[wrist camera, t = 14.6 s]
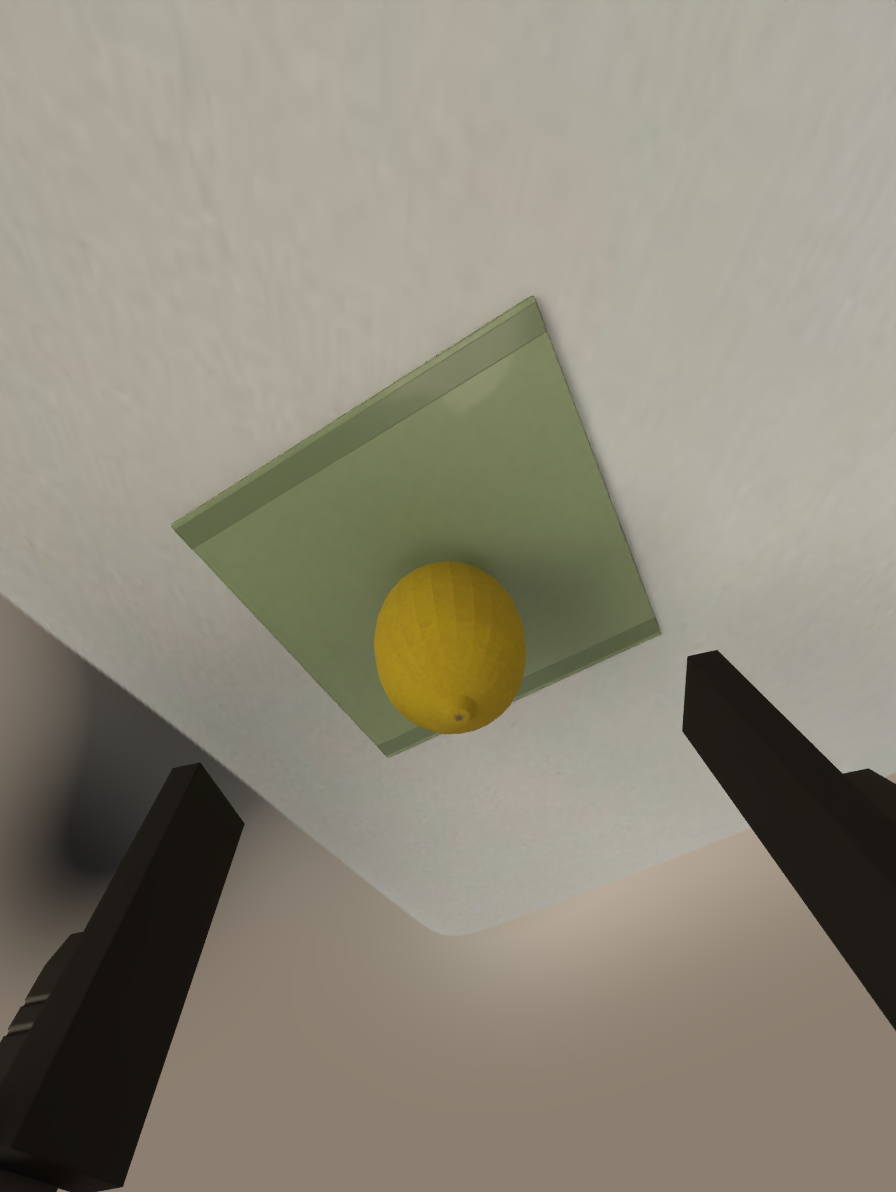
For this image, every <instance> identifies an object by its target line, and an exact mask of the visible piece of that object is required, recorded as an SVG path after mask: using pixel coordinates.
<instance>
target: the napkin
mask: <svg viewBox="0 0 896 1192" xmlns="http://www.w3.org/2000/svg"><path fill="white" fill-rule="evenodd" d="M171 527H172V528H173V529H174V531H175V532H176V533H177V534H178V535H179V536H180V537H181V538H182V539H183V540H184V541H185V542H186V543H187V544H188V546H189V547H190V548H191V549H193V550H194V552H195V553H196V554H197V555H198V556H199V557H200V558H201V559H202V560H203V561H204V562H205V563H206V564H207V565H208V566H209V568H210V569H211V570H212V571H213V572H214V573H215V574H216V575H217V576H218V577H219V578H220V579H221V580H222V581H223V582H224V584H225V585H226V586H227V587H228V588H229V589H230V590H231V591H232V592H233V593H234V594H235V595H236V596H237V597H238V598H239V600H240V601H241V602H242V603H243V604H244V605H245V606H246V607H247V608H248V609H249V610H250V611H251V612H252V613H253V614H254V616H255V617H256V618H257V619H258V620H259V621H260V622H261V623H262V624H263V625H264V626H265V627H266V628H267V629H268V630H269V632H270V633H271V634H272V635H273V636H274V637H275V638H276V639H277V640H278V641H279V642H280V643H281V644H282V645H283V646H284V647H285V649H286V650H287V651H288V652H289V653H290V654H291V655H292V656H293V657H294V658H295V659H296V660H297V661H298V662H299V663H300V665H301V666H302V667H303V668H304V669H305V670H306V671H307V672H308V673H309V674H310V675H311V676H312V677H313V678H314V679H315V681H316V682H317V683H318V684H319V685H320V686H321V687H322V688H323V689H324V690H325V691H326V692H327V693H328V694H329V695H330V697H331V698H332V699H333V700H334V701H335V702H336V703H337V704H338V705H339V706H340V707H341V708H342V709H343V710H344V711H345V713H346V714H347V715H348V716H349V717H350V718H351V719H352V720H353V721H354V722H355V723H356V724H357V725H358V726H359V727H360V729H361V730H362V731H363V732H364V733H365V734H366V735H367V736H368V737H369V738H370V739H371V740H372V741H373V742H374V743H375V745H376V746H377V747H378V748H379V749H380V750H381V751H382V752H383V753H384V754H385V755H386V756H387V757H388V758H389V757H391V756H393V755H395V754H398V753H400V752H402V751H404V750H407V749H409V748H411V747H413V746H415V745H418V744H420V743H422V742H424V741H426V740H429V739H431V738H433V737H435V736H437V735H440V734H442V733H437V732H432V731H430V730H427V729H424V728H421V727H419V726H417V725H416V724H414V723H412V722H411V721H409V720H408V719H406V718H405V717H404V716H403V715H402V714H401V713H400V712H399V711H398V710H397V709H396V708H395V707H394V705H393V704H392V703H391V701H390V700H389V698H388V696H387V694H386V692H385V690H384V688H383V686H382V684H381V681H380V679H379V675H378V671H377V666H376V659H375V652H374V636H375V630H376V624H377V618H378V615H379V612H380V610H381V608H382V606H383V604H384V602H385V600H386V597H387V595H388V594H389V592H390V591H391V590H392V589H393V588H394V587H395V585H396V584H397V583H398V582H399V581H400V580H401V579H402V578H403V577H405V576H406V575H408V574H409V573H411V572H412V571H414V570H415V569H417V568H419V567H422V566H425V565H427V564H430V563H435V562H443V561H452V562H461V563H465V564H468V565H471V566H474V567H477V568H479V569H481V570H483V571H484V572H486V573H487V574H489V575H490V576H492V577H493V578H494V579H496V580H497V581H498V582H499V584H500V585H501V586H502V587H503V588H504V589H505V591H506V592H507V593H508V594H509V595H510V597H511V598H512V600H513V602H514V604H515V606H516V609H517V611H518V613H519V616H520V618H521V620H522V624H523V628H524V635H525V645H526V663H525V669H524V674H523V679H522V683H521V686H520V688H519V690H518V692H517V694H516V696H515V698H514V700H513V701H515V700H517V699H519V698H521V697H524V696H526V695H528V694H530V693H532V692H535V691H537V690H539V689H541V688H544V687H546V686H548V685H550V684H552V683H555V682H557V681H559V680H561V679H563V678H566V677H568V676H570V675H572V674H574V673H577V672H579V671H581V670H583V669H586V668H588V667H590V666H592V665H594V664H597V663H599V662H601V661H603V660H605V659H608V658H610V657H612V656H614V655H616V654H619V653H621V652H623V651H625V650H628V649H630V648H632V647H634V646H636V645H639V644H641V643H643V642H645V641H647V640H650V639H652V638H654V637H656V636H658V635H661V632H660V629H659V627H658V624H657V621H656V619H655V616H654V614H653V611H652V608H651V606H650V603H649V600H648V598H647V595H646V592H645V590H644V587H643V584H642V582H641V579H640V576H639V574H638V571H637V569H636V566H635V563H634V561H633V558H632V555H631V553H630V550H629V547H628V545H627V542H626V539H625V537H624V534H623V531H622V529H621V526H620V523H619V521H618V518H617V516H616V513H615V510H614V508H613V505H612V502H611V500H610V497H609V494H608V492H607V489H606V486H605V484H604V481H603V478H602V476H601V473H600V470H599V468H598V465H597V462H596V460H595V457H594V455H593V452H592V449H591V447H590V444H589V441H588V439H587V436H586V433H585V431H584V428H583V425H582V423H581V420H580V417H579V415H578V412H577V409H576V407H575V404H574V402H573V399H572V396H571V394H570V391H569V388H568V386H567V383H566V380H565V378H564V375H563V372H562V370H561V367H560V364H559V362H558V359H557V356H556V354H555V351H554V348H553V346H552V343H551V341H550V338H549V335H548V333H547V330H546V327H545V324H544V322H543V319H542V316H541V314H540V311H539V308H538V306H537V303H536V301H535V298H534V296H530V297H529V298H527V299H526V300H524V301H523V302H521V303H519V304H518V305H516V306H515V307H513V308H512V309H510V310H508V311H507V312H505V313H504V314H502V315H501V316H499V317H497V318H496V319H494V320H493V321H491V322H489V323H488V324H486V325H485V326H483V327H482V328H480V329H478V330H477V331H475V332H474V333H472V334H471V335H469V336H467V337H466V338H464V339H463V340H461V341H460V342H458V343H456V344H455V345H453V346H452V347H450V348H449V349H447V350H445V351H444V352H442V353H441V354H439V355H437V356H436V357H434V358H433V359H431V360H430V361H428V362H426V363H425V364H423V365H422V366H420V367H419V368H417V369H415V370H414V371H412V372H411V373H409V374H408V375H406V376H404V377H403V378H401V379H400V380H398V381H396V382H395V383H393V384H392V385H390V386H389V387H387V388H385V389H384V390H382V391H381V392H379V393H378V394H376V395H374V396H373V397H371V398H370V399H368V400H367V401H365V402H363V403H362V404H360V405H359V406H357V407H355V408H354V409H352V410H351V411H349V412H348V413H346V414H344V415H343V416H341V417H340V418H338V419H337V420H335V421H333V422H332V423H330V424H329V425H327V426H326V427H324V428H322V429H321V430H319V431H318V432H316V433H314V434H313V435H311V436H310V437H308V438H307V439H305V440H303V441H302V442H300V443H299V444H297V445H296V446H294V447H292V448H291V449H289V450H288V451H286V452H285V453H283V454H281V455H280V456H278V457H277V458H275V459H274V460H272V461H270V462H269V463H267V464H266V465H264V466H262V467H261V468H259V469H258V470H256V471H255V472H253V473H251V474H250V475H248V476H247V477H245V478H244V479H242V480H240V481H239V482H237V483H236V484H234V485H233V486H231V487H229V488H228V489H226V490H225V491H223V492H221V493H220V494H218V495H217V496H215V497H214V498H212V499H210V500H209V501H207V502H206V503H204V504H203V505H201V506H199V507H198V508H196V509H195V510H193V511H192V512H190V513H188V514H187V515H185V516H184V517H182V518H180V519H179V520H177V521H176V522H174V523H173V524H171ZM513 701H512V702H513Z"/></svg>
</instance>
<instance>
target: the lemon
mask: <svg viewBox="0 0 896 1192" xmlns="http://www.w3.org/2000/svg"><path fill="white" fill-rule="evenodd" d="M374 652H375V659H376V666H377V671H378V675H379V679H380V681H381V684H382V686H383V688H384V690H385V692H386V694H387V696H388V698H389V700H390V701H391V703H392V704H393V705H394V707H395V708H396V709H397V710H398V711H399V712H400V713H401V714H402V715H403V716H404V717H405V718H406V719H408V720H409V721H411V722H412V723H414V724H416V725H417V726H419V727H421V728H424V729H427V730H430V731H432V732H437V733H444V734H461V733H465V732H470V731H474V730H477V729H479V728H481V727H484V726H486V725H488V724H489V723H491V722H492V721H494V720H495V719H496V718H498V717H499V716H500V715H501V714H502V713H503V712H504V711H505V710H506V709H507V708H508V707H509V706H510V705H511V703H512V701H513V700H514V698H515V696H516V694H517V692H518V690H519V688H520V686H521V683H522V679H523V674H524V669H525V663H526V645H525V635H524V628H523V624H522V620H521V618H520V616H519V613H518V611H517V609H516V606H515V604H514V602H513V600H512V598H511V597H510V595H509V594H508V593H507V592H506V591H505V589H504V588H503V587H502V586H501V585H500V584H499V582H498V581H497V580H496V579H494V578H493V577H492V576H490V575H489V574H487V573H486V572H484V571H483V570H481V569H479V568H477V567H474V566H471V565H468V564H465V563H461V562H452V561H443V562H435V563H430V564H427V565H425V566H422V567H419V568H417V569H415V570H414V571H412V572H411V573H409V574H408V575H406V576H405V577H403V578H402V579H401V580H400V581H399V582H398V583H397V584H396V585H395V587H394V588H393V589H392V590H391V591H390V592H389V594H388V595H387V597H386V600H385V602H384V604H383V606H382V608H381V610H380V612H379V615H378V618H377V624H376V630H375V636H374Z"/></svg>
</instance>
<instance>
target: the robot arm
mask: <svg viewBox="0 0 896 1192" xmlns="http://www.w3.org/2000/svg"><path fill="white" fill-rule="evenodd" d="M682 731H683V733H684V734H685V735H686V737H687V738H688V740H689V741H690V742H691V744H692V745H693V747H694V748H695V749H696V751H697V752H698V754H699V755H700V756H701V758H702V759H703V761H704V762H705V764H706V765H707V766H708V768H709V769H710V771H711V772H712V773H713V775H714V776H715V778H716V779H717V780H718V782H719V783H720V785H721V786H722V787H723V789H724V790H725V792H726V793H727V794H728V796H729V797H730V799H731V800H732V801H733V803H734V804H735V806H736V807H737V808H738V810H739V811H740V813H741V814H742V816H743V817H744V818H745V820H746V821H747V823H748V824H749V825H750V827H751V828H752V830H753V831H754V832H755V834H756V835H757V836H758V838H759V839H760V841H761V842H762V844H763V845H764V846H765V848H766V849H767V851H768V852H769V853H770V855H771V856H772V858H773V859H774V860H775V862H776V863H777V865H778V866H779V867H780V869H781V870H782V872H783V873H784V875H785V876H786V877H787V879H788V880H789V882H790V883H791V884H792V886H793V887H794V888H795V890H796V891H797V893H798V894H799V896H800V897H801V898H802V900H803V901H804V903H805V904H806V905H807V907H808V908H809V910H810V911H811V912H812V914H813V915H814V917H815V918H816V919H817V921H818V922H819V924H820V925H821V927H822V928H823V929H824V931H825V932H826V933H827V935H828V936H829V938H830V939H831V941H832V942H833V943H834V944H835V946H836V948H837V949H838V950H839V952H840V953H841V955H842V956H843V957H844V959H845V960H846V962H847V963H848V964H849V966H850V967H851V969H852V970H853V971H854V973H855V974H856V975H857V977H858V978H859V980H860V981H861V983H862V984H863V986H864V987H865V988H866V990H867V991H868V993H869V994H870V995H871V997H872V998H873V999H874V1001H875V1002H876V1004H877V1005H878V1007H879V1008H880V1009H881V1011H882V1012H883V1014H884V1015H885V1016H886V1018H887V1019H888V1020H889V1022H890V1023H891V1025H892V1026H893V1028H894V1029H895V1030H896V784H895V783H893V782H891V781H889V780H888V779H886V778H884V777H883V776H881V775H879V774H877V773H876V772H874V771H872V770H870V769H869V768H868V769H864V770H859V771H854V772H849V773H844V774H842V773H841V772H840V771H839V770H838V769H837V768H836V767H835V766H834V765H833V764H832V763H831V762H830V761H829V760H828V759H827V758H826V757H825V756H824V755H823V754H822V753H821V752H820V751H819V750H818V749H817V748H816V747H815V746H814V745H813V744H812V743H811V742H810V741H809V740H808V739H807V738H806V737H805V736H804V735H803V734H802V733H801V732H800V731H799V730H798V729H797V728H796V727H795V726H794V725H793V724H792V723H791V722H790V721H789V720H788V719H787V718H786V717H785V716H784V715H782V714H781V713H780V712H779V711H778V710H777V709H776V708H775V707H774V706H773V705H772V704H771V703H770V702H769V701H768V700H767V699H766V698H765V697H764V696H763V695H762V694H761V693H760V692H759V691H758V690H757V689H756V688H755V687H754V686H753V685H752V684H751V683H750V682H749V681H748V680H747V679H746V678H745V677H744V676H743V675H742V674H741V673H740V672H739V671H738V670H737V669H736V668H735V667H734V666H733V665H732V664H731V663H730V662H729V661H728V660H727V659H726V658H725V657H724V656H723V655H722V654H721V653H720V652H719V651H718V650H715V651H710V652H706V653H701V654H696V655H692V656H688V658H687V672H686V686H685V700H684V714H683V728H682ZM243 827H244V822H243V821H242V820H241V818H240V817H239V815H238V814H237V813H236V811H235V810H234V808H233V807H232V806H231V804H230V803H229V802H228V800H227V799H226V797H225V796H224V795H223V793H222V792H221V790H220V789H219V788H218V786H217V785H216V784H215V782H214V781H213V780H212V778H211V777H210V775H209V774H208V773H207V771H206V770H205V768H204V767H203V766H202V764H201V763H195V764H191V765H186V766H181V767H177V768H173V769H172V771H171V773H170V774H169V776H168V778H167V780H166V782H165V783H164V785H163V787H162V789H161V791H160V793H159V794H158V796H157V798H156V800H155V802H154V804H153V805H152V807H151V809H150V811H149V813H148V815H147V817H146V818H145V820H144V822H143V824H142V826H141V827H140V829H139V831H138V833H137V835H136V836H135V838H134V840H133V842H132V844H131V846H130V847H129V849H128V851H127V853H126V855H125V857H124V858H123V860H122V862H121V864H120V866H119V868H118V869H117V871H116V873H115V875H114V877H113V879H112V880H111V882H110V884H109V886H108V888H107V889H106V891H105V893H104V895H103V897H102V899H101V901H100V902H99V904H98V906H97V908H96V910H95V912H94V913H93V915H92V917H91V919H90V920H89V922H88V924H87V926H86V928H85V930H84V932H80V933H75V934H71V935H70V936H69V937H68V939H67V940H66V941H65V942H64V943H63V944H62V946H61V947H60V948H59V949H58V950H57V952H56V953H55V954H54V955H53V956H52V958H51V959H50V960H49V961H48V962H47V964H46V965H45V966H44V968H43V970H42V971H41V973H40V975H39V976H38V978H37V980H36V982H35V983H34V985H33V987H32V989H31V990H30V992H29V994H28V995H27V997H26V999H25V1001H26V1002H25V1005H24V1006H22V1007H21V1008H20V1009H19V1011H18V1013H17V1014H16V1016H15V1018H14V1020H13V1021H12V1023H11V1025H10V1026H9V1028H8V1029H9V1032H8V1034H7V1035H6V1036H4V1037H3V1039H2V1040H1V1042H0V1192H57V1189H58V1188H59V1189H62V1190H66V1191H69V1192H98V1191H104V1190H109V1189H114V1188H120V1187H123V1185H124V1182H125V1179H126V1176H127V1173H128V1170H129V1167H130V1164H131V1161H132V1158H133V1155H134V1152H135V1149H136V1146H137V1143H138V1140H139V1137H140V1134H141V1131H142V1128H143V1125H144V1122H145V1119H146V1116H147V1113H148V1110H149V1107H150V1104H151V1101H152V1098H153V1095H154V1092H155V1089H156V1086H157V1083H158V1080H159V1077H160V1074H161V1071H162V1068H163V1065H164V1063H165V1059H166V1057H167V1054H168V1050H169V1048H170V1045H171V1042H172V1039H173V1036H174V1033H175V1029H176V1027H177V1024H178V1021H179V1018H180V1015H181V1012H182V1009H183V1006H184V1003H185V1000H186V997H187V994H188V991H189V988H190V985H191V982H192V979H193V976H194V973H195V970H196V967H197V964H198V961H199V958H200V955H201V952H202V949H203V946H204V943H205V940H206V937H207V934H208V931H209V928H210V925H211V922H212V919H213V916H214V913H215V910H216V907H217V904H218V901H219V898H220V896H221V892H222V890H223V887H224V884H225V881H226V878H227V874H228V871H229V868H230V866H231V863H232V860H233V857H234V854H235V851H236V847H237V845H238V841H239V839H240V836H241V833H242V830H243Z"/></svg>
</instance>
